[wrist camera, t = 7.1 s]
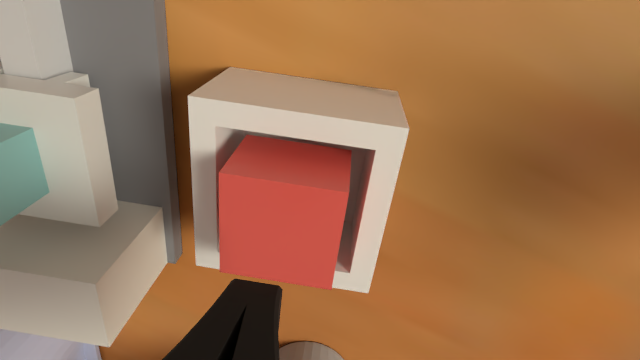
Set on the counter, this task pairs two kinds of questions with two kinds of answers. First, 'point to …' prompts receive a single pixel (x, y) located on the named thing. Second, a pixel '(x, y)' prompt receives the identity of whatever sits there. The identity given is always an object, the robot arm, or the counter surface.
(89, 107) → the carriage
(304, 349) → the coffee cup
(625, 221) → the counter surface
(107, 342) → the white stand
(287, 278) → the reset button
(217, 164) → the box
